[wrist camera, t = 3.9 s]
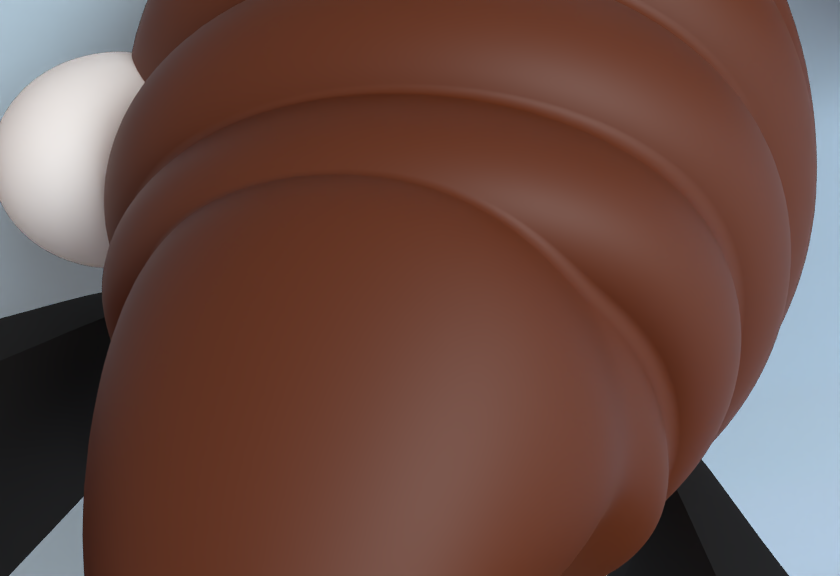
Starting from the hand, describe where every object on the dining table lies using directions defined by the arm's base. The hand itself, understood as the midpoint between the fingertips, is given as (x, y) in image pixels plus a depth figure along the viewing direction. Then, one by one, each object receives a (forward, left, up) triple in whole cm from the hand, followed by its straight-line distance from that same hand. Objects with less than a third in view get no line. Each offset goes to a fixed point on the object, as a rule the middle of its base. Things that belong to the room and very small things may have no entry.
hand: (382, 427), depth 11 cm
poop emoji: (+3, 0, -3) cm, 4 cm away
